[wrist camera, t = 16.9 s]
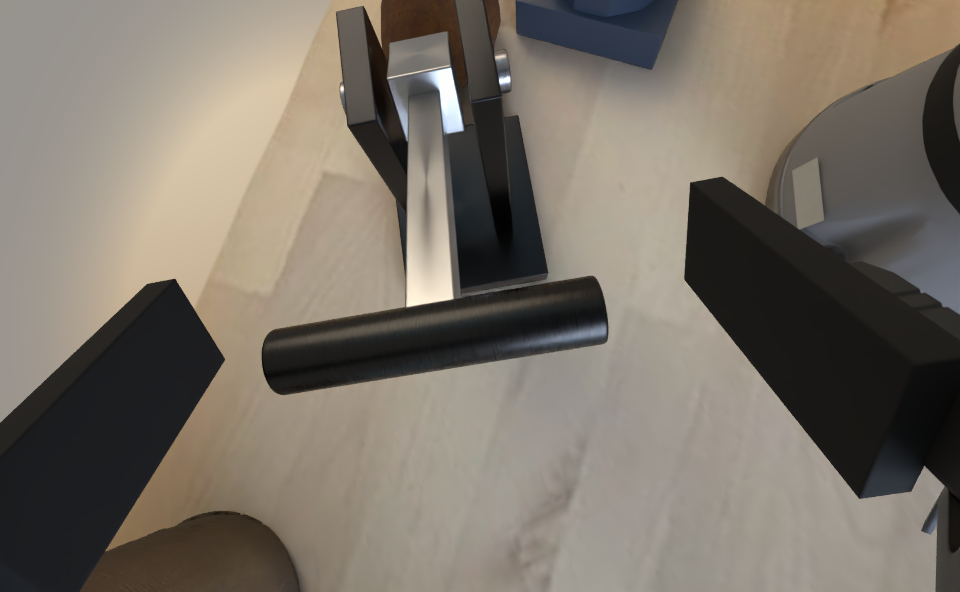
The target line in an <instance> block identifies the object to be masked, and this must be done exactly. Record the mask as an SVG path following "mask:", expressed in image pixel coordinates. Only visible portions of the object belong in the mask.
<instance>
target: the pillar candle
mask: <svg viewBox="0 0 960 592" xmlns="http://www.w3.org/2000/svg"><path fill="white" fill-rule="evenodd" d="M298 585H299V584H298V580H297V577H296V572H295V569H294V566H293V564H292V562H291V560H290V558H289V556H288V553H287V551H286V549H285V548H284V546H283V544H282V543H281V542H280V540H279V538H278V537H277V536H276V535H275V533H274V532H273V531H272V530H271V529H270V528H269V527H267V526H266V525H263V524H262V522H260V521H258V520H256V519H254V518H252V517H250V516H248V515H244V514H243V515H240V513H236V512H231V511H215V512H208V513H203V514H199V515H196V516H193V517H191V518H189V519H186V520H184V521H183V522H182V523H180V524H178V525H177V526H174V527H172V528H168V529H162V530H159V531H156V532H154V533H152V534H149V535H147V536H145V537H142V538H140V539H137V540H134V541H131V542H129V543H126V544H124V545H121V546H118V547H116V548H114V549H112V550H109V551H106V552H104V553H103V555H102V557H101V558H100V560H99V561H98V563H97V565H96V566H95V568H94V569H93V571H92V573H91V574H90V576H89V577H88V579H87V581H86V582H85V584H84V585H83V587H82V588H81V590H80V592H299V586H298Z"/></svg>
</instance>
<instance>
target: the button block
mask: <svg viewBox="0 0 960 592" xmlns="http://www.w3.org/2000/svg"><path fill="white" fill-rule="evenodd" d="M677 1H678V0H516V30H517V34H519V35H523V36H527V37H531V38H535V39H538V40H542V41H546V42H550V43H553V44H557V45H561V46H565V47H568V48H572V49H576V50H580V51H584V52H587V53H591V54H595V55H599V56H602V57H606V58H610V59H614V60H618V61H621V62H625V63H629V64H633V65H636V66H640V67H644V68H648V69H652V68H653V66H654V63H655V61H656V58H657V55H658V53H659V50H660V48H661V45H662V42H663V40H664V37H665V34H666V32H667V29H668V26H669V23H670V21H671V18H672V15H673V12H674V10H675V7H676V4H677Z"/></svg>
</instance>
